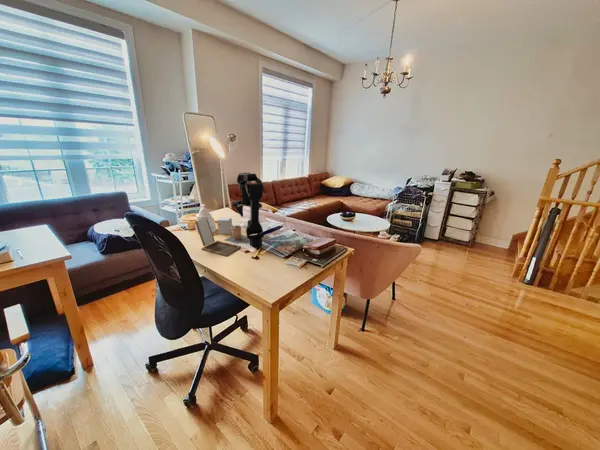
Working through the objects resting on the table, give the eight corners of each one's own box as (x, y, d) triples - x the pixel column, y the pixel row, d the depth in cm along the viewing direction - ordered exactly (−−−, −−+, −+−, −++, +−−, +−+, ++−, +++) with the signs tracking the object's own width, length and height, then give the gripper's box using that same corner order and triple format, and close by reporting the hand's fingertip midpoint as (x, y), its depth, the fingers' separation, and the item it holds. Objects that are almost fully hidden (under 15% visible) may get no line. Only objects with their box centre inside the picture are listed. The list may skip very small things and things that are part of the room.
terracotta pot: (244, 237, 153) (243, 226, 151) (237, 241, 148) (236, 229, 146) (236, 235, 156) (235, 224, 153) (229, 239, 151) (228, 227, 148)
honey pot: (196, 228, 172) (192, 204, 165) (215, 226, 176) (212, 202, 170) (196, 235, 160) (191, 209, 154) (216, 232, 164) (213, 207, 158)
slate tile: (249, 238, 155) (249, 236, 154) (238, 244, 146) (238, 243, 145) (236, 235, 159) (236, 233, 159) (224, 241, 150) (224, 239, 150)
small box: (233, 232, 165) (231, 217, 161) (230, 235, 160) (228, 220, 156) (222, 232, 166) (220, 217, 162) (218, 235, 160) (216, 220, 157)
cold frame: (241, 249, 140) (238, 221, 134) (226, 258, 130) (222, 228, 124) (210, 241, 150) (207, 215, 144) (195, 249, 140) (190, 221, 134)
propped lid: (206, 217, 142) (206, 217, 142) (195, 221, 135) (194, 221, 136) (214, 241, 145) (214, 241, 145) (204, 246, 138) (203, 246, 139)
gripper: (266, 192, 152) (267, 216, 157) (242, 189, 160) (244, 212, 165) (255, 196, 142) (257, 221, 148) (230, 193, 150) (233, 217, 156)
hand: (248, 217), depth 154 cm, fingers open, 9 cm apart
